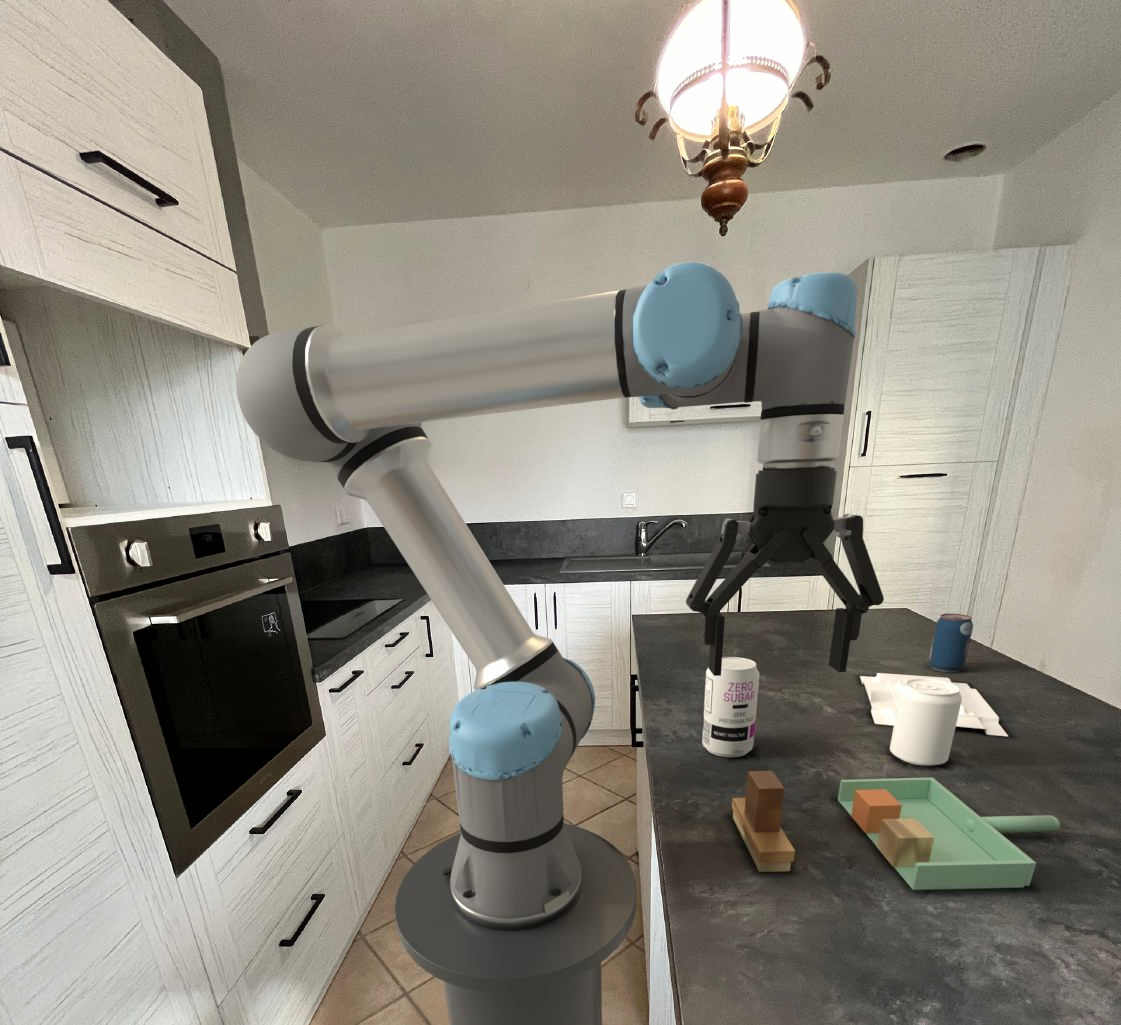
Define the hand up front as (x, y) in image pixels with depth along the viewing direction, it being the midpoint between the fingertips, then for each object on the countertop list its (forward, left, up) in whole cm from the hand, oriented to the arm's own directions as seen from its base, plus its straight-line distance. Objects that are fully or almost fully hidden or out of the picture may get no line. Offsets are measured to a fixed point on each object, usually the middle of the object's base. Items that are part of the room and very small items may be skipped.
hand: (775, 670), depth 66 cm
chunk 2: (+14, -4, -20) cm, 25 cm away
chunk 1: (+14, +3, -20) cm, 25 cm away
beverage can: (+32, +22, -23) cm, 45 cm away
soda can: (+62, +65, -23) cm, 93 cm away
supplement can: (+3, +27, -23) cm, 36 cm away
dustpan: (+25, 0, -23) cm, 34 cm away
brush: (0, 0, -23) cm, 23 cm away
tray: (+46, +45, -23) cm, 68 cm away
